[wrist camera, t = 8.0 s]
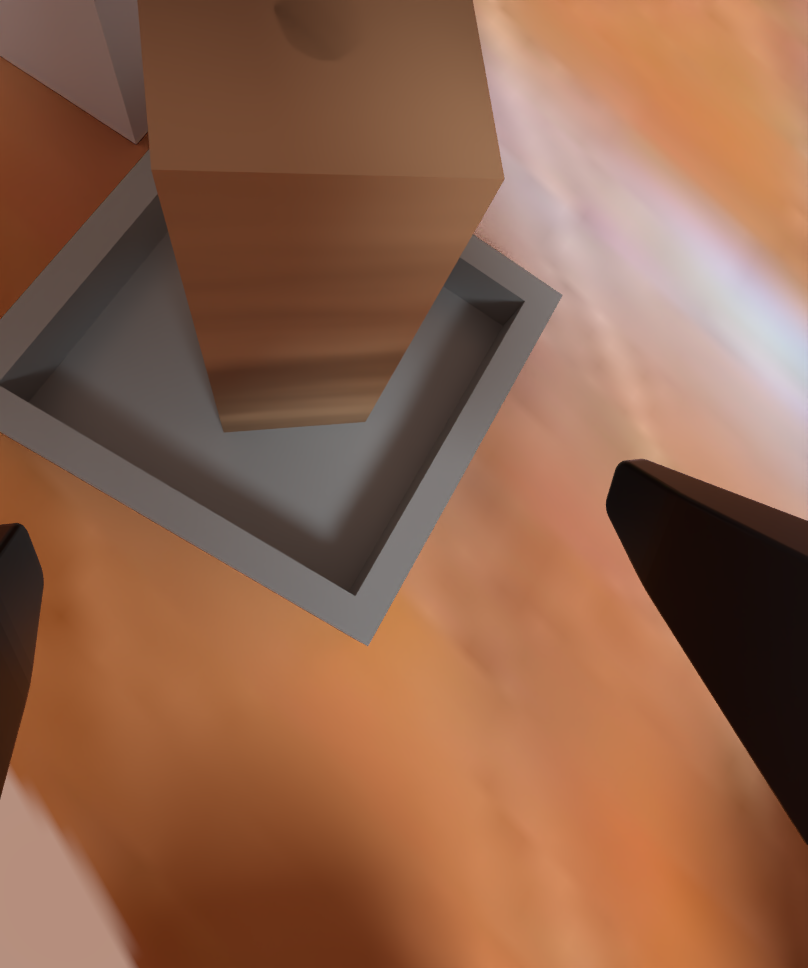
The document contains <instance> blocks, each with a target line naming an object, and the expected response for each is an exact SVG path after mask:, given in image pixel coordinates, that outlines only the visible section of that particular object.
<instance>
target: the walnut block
mask: <svg viewBox="0 0 808 968" xmlns="http://www.w3.org/2000/svg"><path fill="white" fill-rule="evenodd" d="M137 2H138V15H139V27H140V39H141V51H142V63H143V76H144V88H145V100H146V112H147V125H148V137H149V149H150V161H151V171H152V174H153V178H154V182H155V185H156V189H157V193H158V196H159V200H160V203H161V207H162V211H163V214H164V218H165V222H166V225H167V229H168V232H169V236H170V240H171V243H172V247H173V251H174V254H175V258H176V261H177V265H178V269H179V272H180V276H181V280H182V283H183V287H184V290H185V294H186V298H187V301H188V305H189V309H190V312H191V316H192V319H193V323H194V327H195V330H196V334H197V338H198V341H199V345H200V348H201V352H202V356H203V359H204V363H205V367H206V370H207V374H208V377H209V381H210V385H211V388H212V392H213V396H214V399H215V403H216V406H217V410H218V414H219V417H220V421H221V424H222V428H223V432H224V433H225V432H238V431H252V430H265V429H278V428H292V427H305V426H318V425H332V424H345V423H358V422H366V420H367V418H368V417H369V415H370V413H371V411H372V410H373V408H374V406H375V404H376V403H377V401H378V399H379V397H380V396H381V394H382V392H383V390H384V389H385V387H386V385H387V383H388V382H389V380H390V378H391V376H392V375H393V373H394V371H395V369H396V368H397V366H398V364H399V362H400V361H401V359H402V357H403V355H404V354H405V352H406V350H407V348H408V347H409V345H410V343H411V341H412V340H413V338H414V336H415V334H416V333H417V331H418V329H419V327H420V326H421V324H422V322H423V320H424V319H425V317H426V315H427V313H428V312H429V310H430V308H431V306H432V305H433V303H434V301H435V299H436V298H437V296H438V294H439V292H440V291H441V289H442V287H443V286H444V284H445V282H446V280H447V279H448V277H449V275H450V273H451V272H452V270H453V268H454V266H455V265H456V263H457V261H458V259H459V258H460V256H461V254H462V252H463V251H464V249H465V247H466V245H467V244H468V242H469V240H470V238H471V237H472V235H473V233H474V231H475V230H476V228H477V226H478V224H479V223H480V221H481V219H482V217H483V216H484V214H485V212H486V210H487V209H488V207H489V205H490V203H491V202H492V200H493V198H494V196H495V195H496V193H497V191H498V189H499V188H500V186H501V184H502V182H503V181H504V174H503V168H502V162H501V157H500V151H499V146H498V140H497V134H496V129H495V123H494V118H493V112H492V106H491V101H490V95H489V90H488V84H487V78H486V73H485V67H484V62H483V56H482V50H481V45H480V39H479V34H478V28H477V22H476V17H475V11H474V6H473V0H137Z"/></svg>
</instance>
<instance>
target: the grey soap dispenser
mask: <svg viewBox="0 0 808 968" xmlns="http://www.w3.org/2000/svg"><path fill="white" fill-rule="evenodd" d="M0 56H1V57H3V58H4V59H6V60H7V61H9V62H10V63H12V64H13V65H15V66H17V67H18V68H20V69H21V70H23V71H24V72H26V73H27V74H29V75H30V76H32V77H33V78H35V79H36V80H38V81H40V82H41V83H43V84H44V85H46V86H47V87H49V88H50V89H52V90H53V91H55V92H56V93H58V94H59V95H61V96H63V97H64V98H66V99H67V100H69V101H70V102H72V103H73V104H75V105H76V106H78V107H79V108H81V109H82V110H84V111H86V112H87V113H89V114H90V115H92V116H93V117H95V118H96V119H98V120H99V121H101V122H102V123H104V124H105V125H107V126H109V127H110V128H112V129H113V130H115V131H116V132H118V133H119V134H121V135H122V136H124V137H125V138H127V139H128V140H130V141H132V142H133V143H135V144H137V143H138V142H139V141H140V140H141V139H142V138H143V136H144V135H145V134H146V133H147V132H148V125H147V112H146V100H145V88H144V76H143V63H142V51H141V39H140V27H139V15H138V2H137V0H0Z"/></svg>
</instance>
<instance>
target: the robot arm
mask: <svg viewBox="0 0 808 968" xmlns="http://www.w3.org/2000/svg"><path fill="white" fill-rule="evenodd" d="M606 510H607V514H608V517H609V519H610V521H611V523H612V525H613V527H614V529H615V531H616V533H617V535H618V537H619V539H620V541H621V543H622V545H623V547H624V549H625V551H626V553H627V555H628V557H629V559H630V561H631V563H632V565H633V567H634V569H635V571H636V573H637V575H638V577H639V579H640V581H641V583H642V585H643V586H644V588H645V590H646V591H647V593H648V595H649V597H650V598H651V600H652V601H653V603H654V605H655V606H656V608H657V609H658V611H659V612H660V614H661V616H662V617H663V619H664V620H665V622H666V624H667V625H668V627H669V628H670V630H671V631H672V633H673V635H674V636H675V638H676V639H677V641H678V643H679V644H680V646H681V647H682V649H683V650H684V652H685V654H686V655H687V657H688V658H689V660H690V662H691V663H692V665H693V666H694V668H695V669H696V671H697V673H698V674H699V676H700V677H701V679H702V681H703V682H704V684H705V685H706V687H707V688H708V690H709V692H710V693H711V695H712V696H713V698H714V700H715V701H716V703H717V704H718V706H719V707H720V709H721V711H722V712H723V714H724V715H725V717H726V719H727V720H728V722H729V723H730V725H731V726H732V728H733V730H734V731H735V733H736V734H737V736H738V738H739V739H740V741H741V742H742V744H743V745H744V747H745V749H746V750H747V752H748V753H749V755H750V757H751V758H752V760H753V761H754V763H755V764H756V766H757V768H758V769H759V771H760V772H761V774H762V776H763V777H764V779H765V780H766V782H767V783H768V785H769V787H770V788H771V790H772V791H773V793H774V795H775V796H776V798H777V799H778V801H779V802H780V804H781V806H782V807H783V809H784V810H785V812H786V814H787V815H788V817H789V818H790V820H791V821H792V823H793V825H794V826H795V828H796V829H797V831H798V833H799V834H800V836H801V837H802V839H803V840H804V842H805V843H806V844H807V845H808V521H807V520H804V519H801V518H799V517H796V516H793V515H791V514H788V513H786V512H783V511H780V510H778V509H775V508H772V507H770V506H767V505H764V504H762V503H759V502H757V501H754V500H751V499H749V498H746V497H743V496H741V495H738V494H735V493H733V492H730V491H728V490H725V489H722V488H720V487H717V486H714V485H712V484H709V483H706V482H704V481H701V480H699V479H696V478H693V477H691V476H688V475H685V474H683V473H680V472H677V471H675V470H672V469H670V468H667V467H664V466H662V465H659V464H656V463H654V462H651V461H649V460H645V459H635V460H626V461H622V462H620V463H619V464H618V466H617V467H616V469H615V473H614V476H613V479H612V483H611V486H610V489H609V493H608V496H607V499H606ZM43 586H44V578H43V572H42V568H41V565H40V563H39V560H38V557H37V555H36V552H35V550H34V547H33V544H32V542H31V539H30V537H29V534H28V532H27V530H26V529H25V527H24V526H23V525H21V524H19V523H12V524H2V525H0V797H1V794H2V790H3V786H4V783H5V779H6V775H7V772H8V768H9V764H10V760H11V757H12V753H13V749H14V746H15V742H16V738H17V734H18V731H19V727H20V723H21V719H22V716H23V712H24V708H25V705H26V701H27V696H28V692H29V688H30V683H31V677H32V670H33V663H34V655H35V648H36V640H37V632H38V625H39V617H40V610H41V602H42V594H43Z"/></svg>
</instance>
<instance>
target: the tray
mask: <svg viewBox="0 0 808 968" xmlns="http://www.w3.org/2000/svg"><path fill="white" fill-rule="evenodd" d="M561 297H562V294H560V293H559V292H557V291H556V290H554V289H553V288H551V287H550V286H548V285H547V284H545V283H544V282H542V281H541V280H539V279H538V278H536V277H535V276H534V275H532V274H531V273H529V272H528V271H526V270H525V269H523V268H522V267H520V266H519V265H517V264H516V263H514V262H513V261H511V260H510V259H508V258H507V257H506V256H504V255H503V254H501V253H500V252H498V251H497V250H495V249H494V248H492V247H491V246H489V245H488V244H486V243H485V242H483V241H482V240H480V239H479V238H477V237H476V236H475V235H472V237H471V238H470V240H469V242H468V244H467V245H466V247H465V249H464V251H463V252H462V254H461V256H460V258H459V259H458V261H457V263H456V265H455V266H454V268H453V270H452V272H451V273H450V275H449V277H448V279H447V280H446V282H445V284H444V286H443V287H442V289H441V291H440V292H439V294H438V296H437V298H436V299H435V301H434V303H433V305H432V306H431V308H430V310H429V312H428V313H427V315H426V317H425V319H424V320H423V322H422V324H421V326H420V327H419V329H418V331H417V333H416V334H415V336H414V338H413V340H412V341H411V343H410V345H409V347H408V348H407V350H406V352H405V354H404V355H403V357H402V359H401V361H400V362H399V364H398V366H397V368H396V369H395V371H394V373H393V375H392V376H391V378H390V380H389V382H388V383H387V385H386V387H385V389H384V390H383V392H382V394H381V396H380V397H379V399H378V401H377V403H376V404H375V406H374V408H373V410H372V411H371V413H370V415H369V417H368V418H367V420H366V422H358V423H345V424H332V425H318V426H305V427H292V428H278V429H265V430H252V431H238V432H225V433H224V432H223V428H222V424H221V421H220V417H219V414H218V410H217V406H216V403H215V399H214V396H213V392H212V388H211V385H210V381H209V377H208V374H207V370H206V367H205V363H204V359H203V356H202V352H201V348H200V345H199V341H198V338H197V334H196V330H195V327H194V323H193V319H192V316H191V312H190V309H189V305H188V301H187V298H186V294H185V290H184V287H183V283H182V280H181V276H180V272H179V269H178V265H177V261H176V258H175V254H174V251H173V247H172V243H171V240H170V236H169V232H168V229H167V225H166V222H165V218H164V214H163V211H162V207H161V203H160V200H159V196H158V193H157V189H156V185H155V182H154V178H153V174H152V171H151V161H150V149H149V150H148V151H147V152H146V153H145V155H144V156H143V157H142V158H141V159H140V160H139V161H138V163H137V164H136V165H135V166H134V167H133V168H132V169H131V171H130V172H129V173H128V174H127V175H126V176H125V177H124V179H123V180H122V181H121V182H120V183H119V184H118V185H117V187H116V188H115V189H114V190H113V191H112V192H111V193H110V195H109V196H108V197H107V198H106V199H105V200H104V201H103V203H102V204H101V205H100V206H99V207H98V208H97V209H96V211H95V212H94V213H93V214H92V215H91V216H90V217H89V219H88V220H87V221H86V222H85V223H84V224H83V225H82V227H81V228H80V229H79V230H78V231H77V232H76V233H75V235H74V236H73V237H72V238H71V239H70V240H69V241H68V243H67V244H66V245H65V246H64V247H63V248H62V249H61V251H60V252H59V253H58V254H57V255H56V256H55V257H54V259H53V260H52V261H51V262H50V263H49V264H48V265H47V267H46V268H45V269H44V270H43V271H42V272H41V273H40V275H39V276H38V277H37V278H36V279H35V280H34V281H33V283H32V284H31V285H30V286H29V287H28V288H27V289H26V291H25V292H24V293H23V294H22V295H21V296H20V297H19V299H18V300H17V301H16V302H15V303H14V304H13V305H12V307H11V308H10V309H9V310H8V311H7V312H6V313H5V315H4V316H3V317H2V318H1V319H0V432H1V433H2V434H4V435H6V436H8V437H9V438H11V439H13V440H14V441H16V442H18V443H20V444H21V445H23V446H25V447H26V448H28V449H30V450H32V451H33V452H35V453H37V454H38V455H40V456H42V457H44V458H45V459H47V460H49V461H50V462H52V463H54V464H56V465H57V466H59V467H61V468H62V469H64V470H66V471H68V472H69V473H71V474H73V475H74V476H76V477H78V478H80V479H81V480H83V481H85V482H86V483H88V484H90V485H92V486H93V487H95V488H97V489H98V490H100V491H102V492H104V493H105V494H107V495H109V496H110V497H112V498H114V499H116V500H117V501H119V502H121V503H122V504H124V505H126V506H127V507H129V508H131V509H133V510H134V511H136V512H138V513H139V514H141V515H143V516H145V517H146V518H148V519H150V520H151V521H153V522H155V523H157V524H158V525H160V526H162V527H163V528H165V529H167V530H169V531H170V532H172V533H174V534H175V535H177V536H179V537H181V538H182V539H184V540H186V541H187V542H189V543H191V544H193V545H194V546H196V547H198V548H199V549H201V550H203V551H205V552H206V553H208V554H210V555H211V556H213V557H215V558H217V559H218V560H220V561H222V562H223V563H225V564H227V565H229V566H230V567H232V568H234V569H235V570H237V571H239V572H241V573H242V574H244V575H246V576H247V577H249V578H251V579H253V580H254V581H256V582H258V583H259V584H261V585H263V586H264V587H266V588H268V589H270V590H271V591H273V592H275V593H276V594H278V595H280V596H282V597H283V598H285V599H287V600H288V601H290V602H292V603H294V604H295V605H297V606H299V607H300V608H302V609H304V610H306V611H307V612H309V613H311V614H312V615H314V616H316V617H318V618H319V619H321V620H323V621H324V622H326V623H328V624H330V625H331V626H333V627H335V628H336V629H338V630H340V631H342V632H343V633H345V634H347V635H348V636H350V637H352V638H354V639H355V640H357V641H359V642H361V643H363V644H365V645H366V646H368V645H369V643H370V642H371V640H372V638H373V636H374V634H375V633H376V631H377V629H378V627H379V625H380V624H381V622H382V620H383V618H384V616H385V615H386V613H387V611H388V609H389V607H390V606H391V604H392V602H393V600H394V598H395V596H396V595H397V593H398V591H399V589H400V587H401V586H402V584H403V582H404V580H405V578H406V577H407V575H408V573H409V571H410V569H411V568H412V566H413V564H414V562H415V560H416V559H417V557H418V555H419V553H420V551H421V550H422V548H423V546H424V544H425V542H426V541H427V539H428V537H429V535H430V533H431V532H432V530H433V528H434V526H435V524H436V523H437V521H438V519H439V517H440V515H441V514H442V512H443V510H444V508H445V506H446V505H447V503H448V501H449V499H450V497H451V496H452V494H453V492H454V490H455V488H456V486H457V485H458V483H459V481H460V479H461V477H462V476H463V474H464V472H465V470H466V468H467V467H468V465H469V463H470V461H471V459H472V458H473V456H474V454H475V452H476V450H477V449H478V447H479V445H480V443H481V441H482V440H483V438H484V436H485V434H486V432H487V431H488V429H489V427H490V425H491V423H492V422H493V420H494V418H495V416H496V414H497V413H498V411H499V409H500V407H501V405H502V404H503V402H504V400H505V398H506V396H507V395H508V393H509V391H510V389H511V387H512V385H513V384H514V382H515V380H516V378H517V376H518V375H519V373H520V371H521V369H522V367H523V366H524V364H525V362H526V360H527V358H528V357H529V355H530V353H531V351H532V349H533V348H534V346H535V344H536V342H537V340H538V339H539V337H540V335H541V333H542V331H543V330H544V328H545V326H546V324H547V322H548V321H549V319H550V317H551V315H552V313H553V312H554V310H555V308H556V306H557V304H558V303H559V301H560V299H561Z"/></svg>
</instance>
